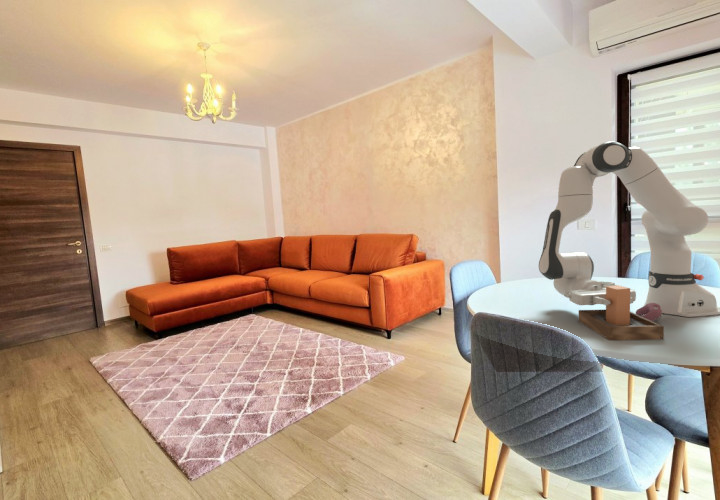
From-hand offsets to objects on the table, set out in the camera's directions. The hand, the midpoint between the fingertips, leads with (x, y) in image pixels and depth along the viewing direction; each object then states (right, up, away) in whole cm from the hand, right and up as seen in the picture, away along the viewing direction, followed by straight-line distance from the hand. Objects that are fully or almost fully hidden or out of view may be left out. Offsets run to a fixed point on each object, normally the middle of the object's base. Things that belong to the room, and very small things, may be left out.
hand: (620, 302), depth 110 cm
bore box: (+1, -9, +2) cm, 9 cm away
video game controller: (+17, -8, +9) cm, 21 cm away
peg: (+1, -9, +2) cm, 9 cm away
